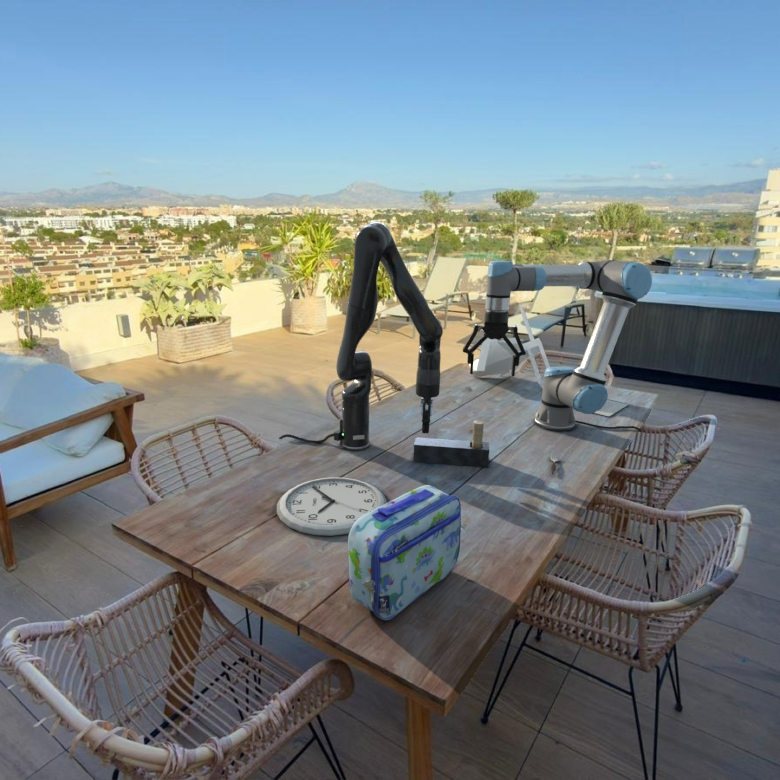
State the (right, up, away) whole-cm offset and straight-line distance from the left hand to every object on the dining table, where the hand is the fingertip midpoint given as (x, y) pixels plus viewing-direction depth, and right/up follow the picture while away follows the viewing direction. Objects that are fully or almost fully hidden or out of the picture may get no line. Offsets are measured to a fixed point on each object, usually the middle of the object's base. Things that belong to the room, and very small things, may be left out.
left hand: (425, 427), depth 171 cm
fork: (+41, -12, -2) cm, 43 cm away
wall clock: (-27, -19, -28) cm, 43 cm away
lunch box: (-8, -30, -61) cm, 68 cm away
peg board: (+8, -11, +1) cm, 14 cm away
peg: (+16, -11, 0) cm, 20 cm away
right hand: (+22, +18, +3) cm, 29 cm away
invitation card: (+80, +5, +56) cm, 97 cm away
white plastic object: (+47, +15, +87) cm, 100 cm away
